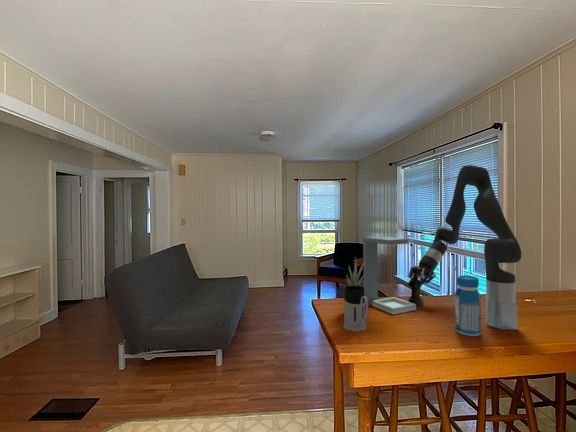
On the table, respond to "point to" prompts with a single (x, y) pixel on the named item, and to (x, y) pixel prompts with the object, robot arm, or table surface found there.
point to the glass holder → (355, 308)
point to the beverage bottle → (468, 306)
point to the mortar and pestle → (415, 293)
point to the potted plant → (355, 278)
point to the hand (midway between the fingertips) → (412, 287)
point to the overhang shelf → (371, 276)
